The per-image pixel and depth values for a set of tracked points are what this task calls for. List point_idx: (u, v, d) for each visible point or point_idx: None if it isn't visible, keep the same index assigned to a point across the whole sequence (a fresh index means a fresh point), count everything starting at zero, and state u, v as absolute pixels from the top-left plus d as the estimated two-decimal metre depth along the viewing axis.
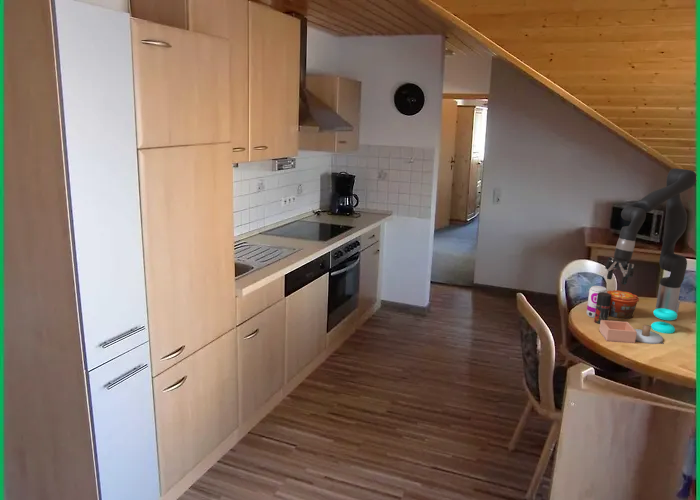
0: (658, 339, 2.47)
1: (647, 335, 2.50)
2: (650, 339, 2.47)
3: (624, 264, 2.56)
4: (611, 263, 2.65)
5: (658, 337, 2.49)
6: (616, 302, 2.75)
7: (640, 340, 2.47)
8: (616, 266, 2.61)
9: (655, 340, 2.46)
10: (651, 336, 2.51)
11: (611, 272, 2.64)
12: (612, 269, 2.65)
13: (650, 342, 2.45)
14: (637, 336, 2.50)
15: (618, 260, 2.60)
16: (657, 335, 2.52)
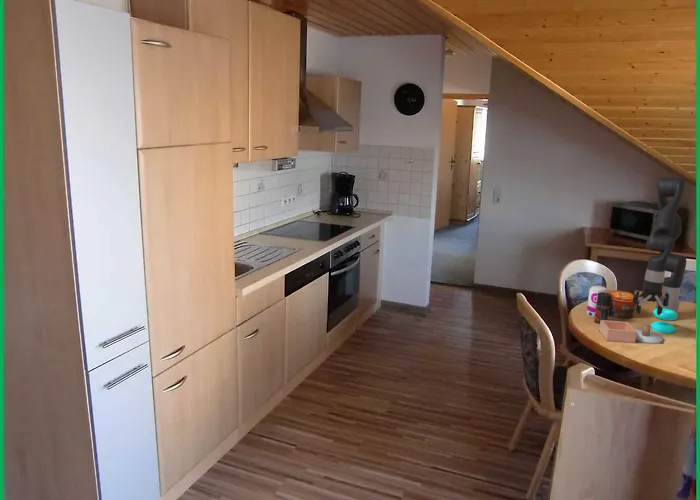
0: (658, 339, 2.47)
1: (647, 335, 2.50)
2: (650, 339, 2.47)
3: (659, 295, 2.46)
4: None
5: (658, 337, 2.49)
6: (616, 302, 2.75)
7: (640, 340, 2.47)
8: (649, 299, 2.47)
9: (655, 340, 2.46)
10: (651, 336, 2.51)
11: None
12: None
13: (650, 342, 2.45)
14: (637, 336, 2.50)
15: (651, 292, 2.46)
16: (657, 335, 2.52)
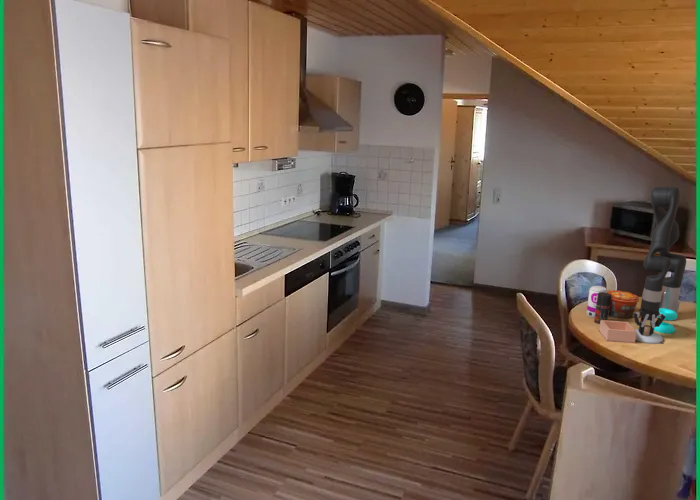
0: (658, 339, 2.47)
1: (647, 335, 2.50)
2: (650, 339, 2.47)
3: (656, 316, 2.48)
4: None
5: (658, 337, 2.49)
6: (616, 302, 2.75)
7: (640, 340, 2.47)
8: (648, 317, 2.49)
9: (655, 340, 2.46)
10: (651, 335, 2.51)
11: None
12: None
13: (650, 342, 2.45)
14: (637, 336, 2.50)
15: (648, 311, 2.48)
16: (657, 335, 2.52)
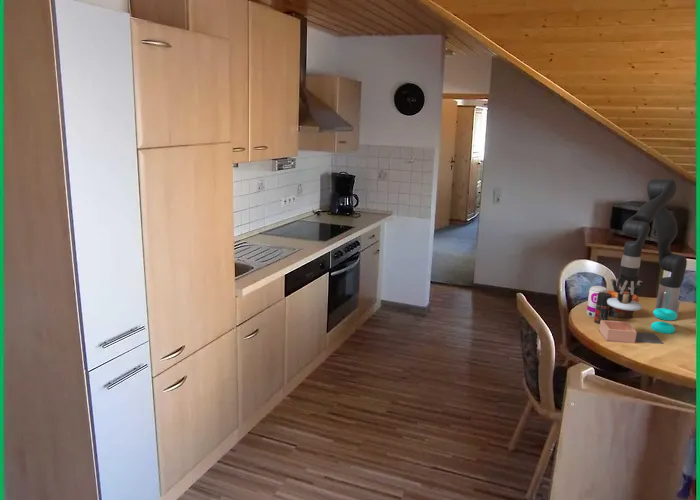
0: (637, 306, 2.43)
1: (626, 302, 2.46)
2: (629, 306, 2.43)
3: (635, 283, 2.44)
4: None
5: (636, 305, 2.45)
6: None
7: (618, 307, 2.43)
8: (627, 284, 2.44)
9: (634, 307, 2.42)
10: (630, 303, 2.47)
11: None
12: None
13: (628, 309, 2.41)
14: (616, 303, 2.46)
15: (627, 278, 2.44)
16: (636, 303, 2.48)
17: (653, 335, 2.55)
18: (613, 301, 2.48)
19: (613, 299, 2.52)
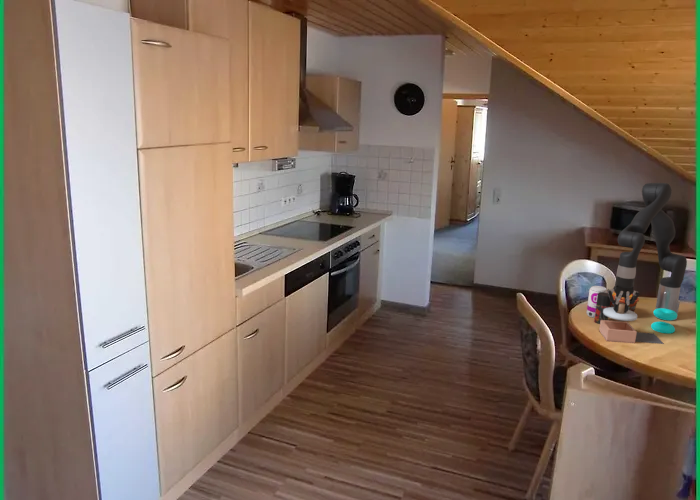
0: (632, 316, 2.45)
1: (622, 312, 2.48)
2: (624, 316, 2.44)
3: (631, 293, 2.45)
4: None
5: (632, 315, 2.47)
6: None
7: (614, 317, 2.44)
8: (623, 294, 2.46)
9: (629, 317, 2.43)
10: (626, 313, 2.48)
11: None
12: None
13: (624, 319, 2.43)
14: (611, 313, 2.48)
15: (622, 289, 2.45)
16: (632, 313, 2.49)
17: (653, 335, 2.55)
18: (609, 311, 2.50)
19: (609, 309, 2.54)
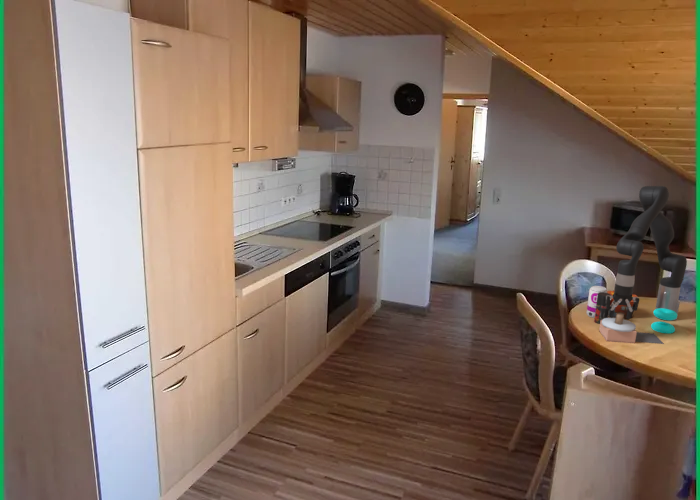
0: (631, 327, 2.46)
1: (620, 323, 2.49)
2: (623, 327, 2.46)
3: (630, 299, 2.46)
4: None
5: (631, 325, 2.48)
6: None
7: (613, 328, 2.46)
8: (620, 303, 2.47)
9: (628, 328, 2.45)
10: (624, 324, 2.50)
11: None
12: None
13: (623, 330, 2.44)
14: (610, 324, 2.49)
15: (621, 296, 2.46)
16: (630, 323, 2.50)
17: (653, 335, 2.55)
18: (607, 322, 2.51)
19: (607, 319, 2.55)
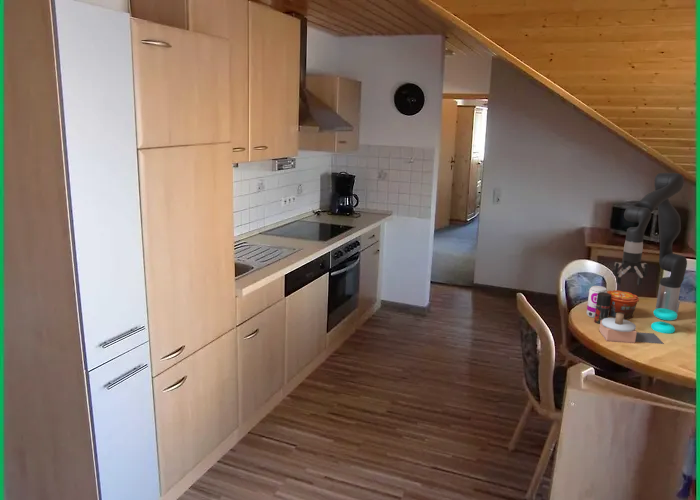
0: (631, 327, 2.46)
1: (620, 323, 2.49)
2: (623, 327, 2.46)
3: (639, 266, 2.48)
4: None
5: (631, 325, 2.48)
6: (616, 302, 2.75)
7: (613, 328, 2.46)
8: (629, 270, 2.49)
9: (628, 328, 2.45)
10: (624, 324, 2.50)
11: None
12: (619, 273, 2.51)
13: (623, 330, 2.44)
14: (610, 324, 2.49)
15: (630, 264, 2.48)
16: (630, 323, 2.50)
17: (653, 335, 2.55)
18: (607, 322, 2.51)
19: (607, 319, 2.55)
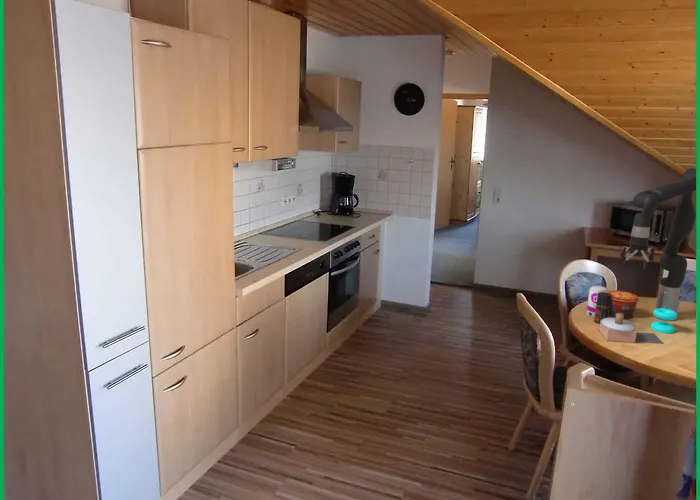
0: (631, 327, 2.46)
1: (620, 323, 2.49)
2: (623, 327, 2.46)
3: (645, 250, 2.60)
4: None
5: (631, 325, 2.48)
6: (616, 302, 2.75)
7: (613, 328, 2.46)
8: (635, 254, 2.61)
9: (628, 328, 2.45)
10: (624, 324, 2.50)
11: None
12: None
13: (623, 330, 2.44)
14: (610, 324, 2.49)
15: (637, 248, 2.60)
16: (630, 323, 2.50)
17: (653, 335, 2.55)
18: (607, 322, 2.51)
19: (607, 319, 2.55)
